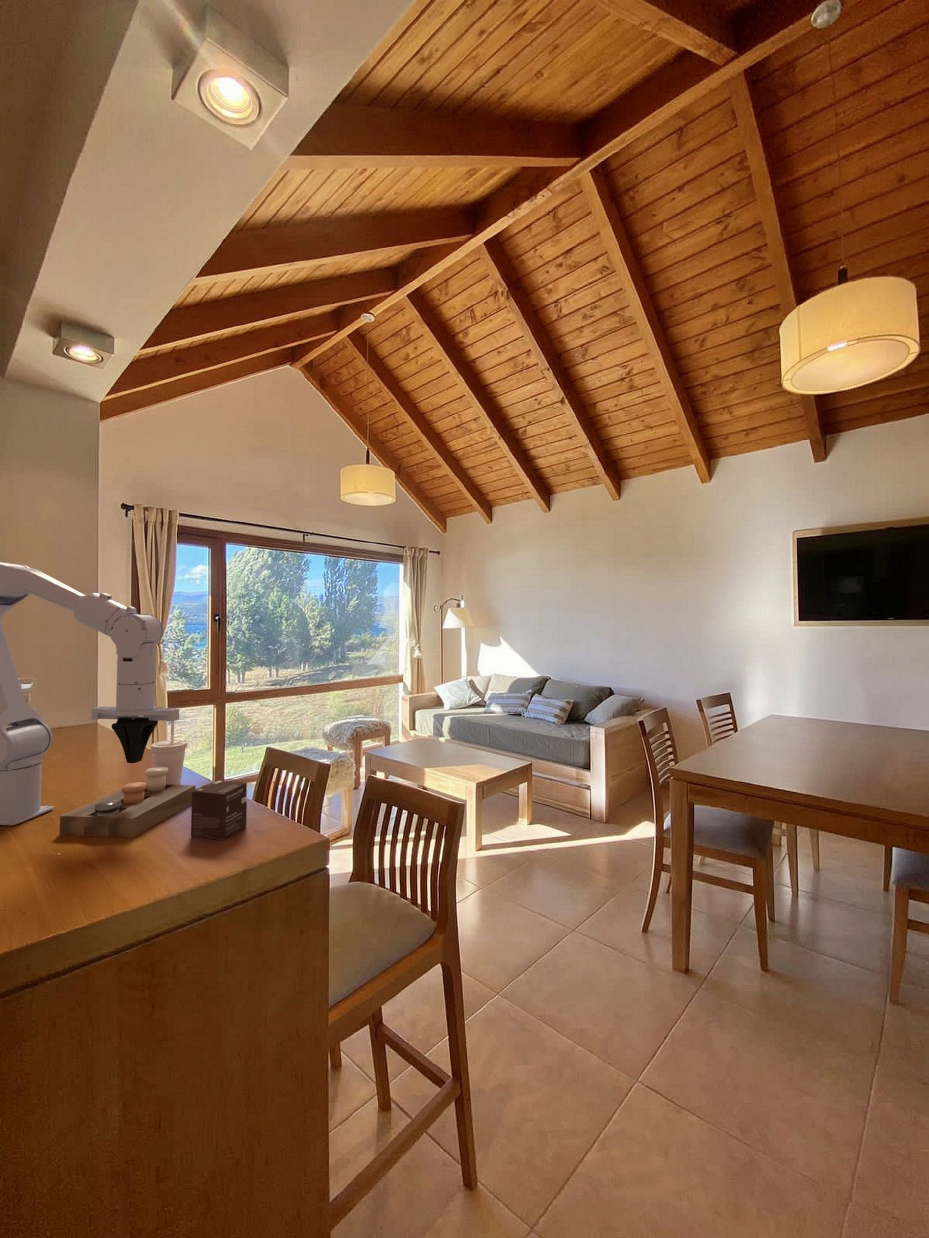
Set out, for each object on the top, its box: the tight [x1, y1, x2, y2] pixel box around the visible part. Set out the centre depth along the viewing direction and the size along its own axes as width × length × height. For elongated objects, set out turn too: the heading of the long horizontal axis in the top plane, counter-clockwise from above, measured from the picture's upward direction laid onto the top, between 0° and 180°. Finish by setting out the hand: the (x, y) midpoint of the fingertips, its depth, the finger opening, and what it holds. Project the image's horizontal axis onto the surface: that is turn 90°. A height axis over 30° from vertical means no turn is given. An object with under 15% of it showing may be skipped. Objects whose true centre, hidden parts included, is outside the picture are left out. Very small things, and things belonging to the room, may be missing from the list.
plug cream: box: [144, 766, 168, 792], centre depth 96 cm, size 4×4×4 cm
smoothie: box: [150, 721, 189, 785], centre depth 103 cm, size 6×6×14 cm
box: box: [190, 780, 248, 841], centre depth 84 cm, size 6×6×7 cm
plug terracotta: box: [121, 781, 147, 803], centre depth 90 cm, size 4×4×4 cm
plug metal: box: [95, 800, 122, 816], centre depth 84 cm, size 4×4×4 cm
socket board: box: [59, 783, 197, 839], centre depth 90 cm, size 12×17×3 cm
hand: (134, 761), depth 90 cm, fingers closed
